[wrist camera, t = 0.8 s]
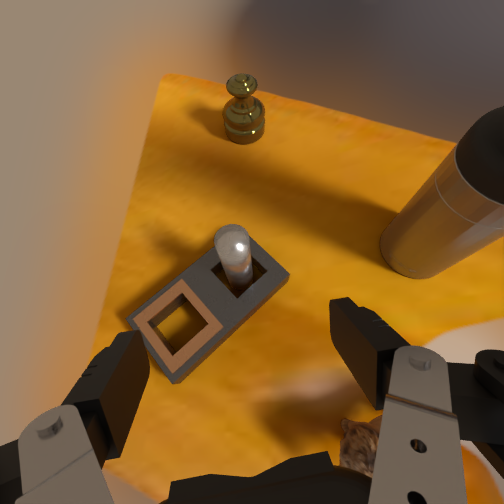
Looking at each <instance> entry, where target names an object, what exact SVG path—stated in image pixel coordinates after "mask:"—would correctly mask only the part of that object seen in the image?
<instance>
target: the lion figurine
mask: <svg viewBox="0 0 504 504" xmlns="http://www.w3.org/2000/svg"><path fill="white" fill-rule="evenodd" d="M382 416H383V415H381V416H378V417H376V418H375V419H373V420H372V421H370V422H369V423H366V422H355V421H351V420H348V419H343V420H342V422H341V427H342V429H343V430H344V431H345V433H344V438H343V439H341V442H340V455H339V457H340V465H339V466H342V467H347V468H350V469H353V470H356V471H359V472H361V473H363V474H365V475H367V476H369V477H371V478H373V471H374V465H375V459H376V453H377V447H378V441H379V434H380V428H381V422H382Z"/></svg>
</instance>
